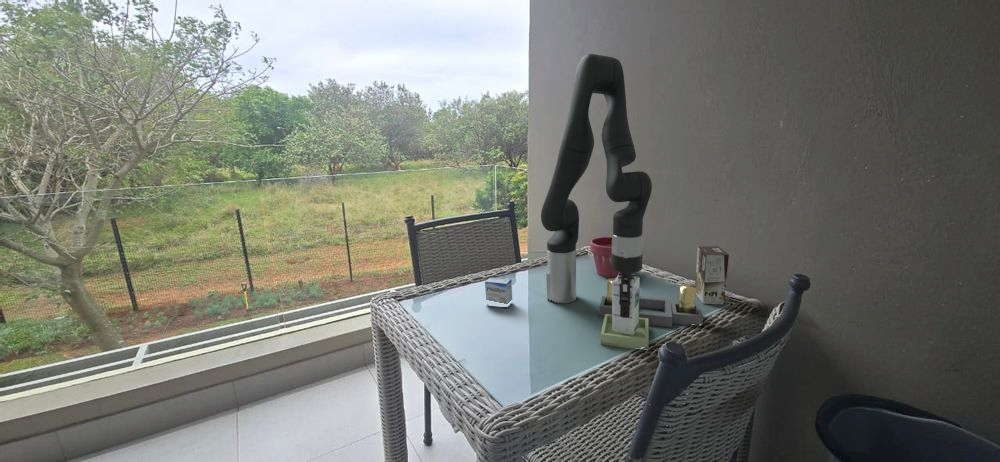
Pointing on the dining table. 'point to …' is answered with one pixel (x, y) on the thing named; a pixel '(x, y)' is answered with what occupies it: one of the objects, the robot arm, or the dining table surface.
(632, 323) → the syrup box
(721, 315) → the dining table surface
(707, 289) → the coffee box
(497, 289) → the medicine box
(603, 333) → the tray
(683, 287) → the right brass peg
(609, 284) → the left brass peg
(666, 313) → the socket block
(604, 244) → the plant pot
